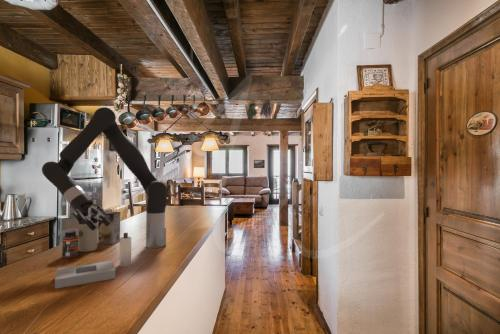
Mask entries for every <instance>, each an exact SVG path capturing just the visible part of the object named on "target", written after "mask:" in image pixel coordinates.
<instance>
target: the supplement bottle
mask: <svg viewBox="0 0 500 334" xmlns="http://www.w3.org/2000/svg"><path fill="white" fill-rule="evenodd" d="M78 237H79V235H77V230H67V231H65V235H64V236H63V237H62V244H61V246H62V248H61V250H62V252H61V256H62V258H63V259H72V258H76V257H77V256H79V251H78Z"/></svg>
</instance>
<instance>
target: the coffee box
mask: <svg viewBox="0 0 500 334" xmlns="http://www.w3.org/2000/svg"><path fill="white" fill-rule="evenodd" d="M105 211H106V212H107V214H108V215H107V216H106V218H107V219H108V220H109V221H110V225H109V226H105V224H104V223H103V222H102V221H101V220H100V219H98V232H97V244H107V245H113V244H114V245H115V244H117V243H118V242H119V243H120V238H121V211H107V210H105ZM103 214H104V213H103ZM100 217H101V216H100Z"/></svg>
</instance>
